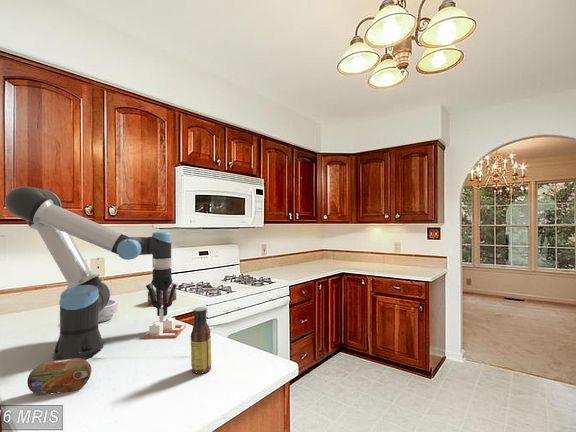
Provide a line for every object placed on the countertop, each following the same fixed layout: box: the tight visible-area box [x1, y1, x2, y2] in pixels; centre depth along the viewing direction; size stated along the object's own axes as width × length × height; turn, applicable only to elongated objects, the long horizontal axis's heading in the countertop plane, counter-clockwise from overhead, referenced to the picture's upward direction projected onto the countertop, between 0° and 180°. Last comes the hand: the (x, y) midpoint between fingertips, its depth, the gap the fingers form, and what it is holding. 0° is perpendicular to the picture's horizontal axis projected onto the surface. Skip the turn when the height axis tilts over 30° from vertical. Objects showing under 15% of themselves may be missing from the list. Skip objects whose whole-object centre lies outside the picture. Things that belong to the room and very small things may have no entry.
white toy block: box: [162, 316, 176, 330], centre depth 134 cm, size 4×4×5 cm
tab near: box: [148, 320, 164, 335], centre depth 128 cm, size 4×4×5 cm
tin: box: [26, 358, 93, 396], centre depth 89 cm, size 15×3×8 cm, turn 105°
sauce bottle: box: [190, 306, 212, 373], centre depth 101 cm, size 6×6×20 cm
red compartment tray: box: [142, 324, 187, 340], centre depth 131 cm, size 13×13×2 cm
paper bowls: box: [98, 299, 119, 323], centre depth 152 cm, size 15×15×8 cm
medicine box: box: [147, 286, 177, 306], centre depth 184 cm, size 15×8×8 cm, turn 161°
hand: (162, 323), depth 134 cm, fingers closed
